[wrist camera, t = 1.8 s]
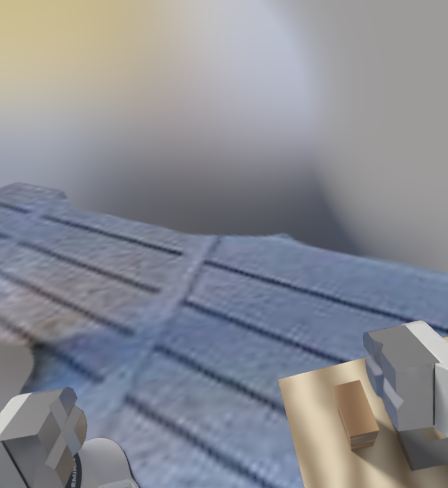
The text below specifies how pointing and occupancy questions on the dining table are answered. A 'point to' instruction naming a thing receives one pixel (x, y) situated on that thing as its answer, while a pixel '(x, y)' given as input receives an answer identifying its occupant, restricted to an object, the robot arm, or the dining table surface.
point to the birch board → (335, 441)
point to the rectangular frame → (421, 449)
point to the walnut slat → (356, 415)
